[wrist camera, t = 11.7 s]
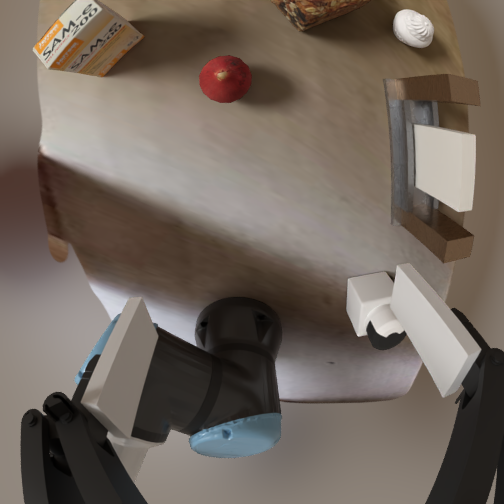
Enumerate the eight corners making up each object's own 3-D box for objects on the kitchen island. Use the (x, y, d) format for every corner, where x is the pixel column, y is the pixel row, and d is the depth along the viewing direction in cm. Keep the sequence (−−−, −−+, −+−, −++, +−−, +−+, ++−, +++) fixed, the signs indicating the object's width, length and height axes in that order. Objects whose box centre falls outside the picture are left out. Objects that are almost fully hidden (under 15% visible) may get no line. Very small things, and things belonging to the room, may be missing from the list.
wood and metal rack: (430, 218, 39) (477, 254, 27) (390, 224, 39) (434, 265, 28) (427, 83, 28) (485, 83, 17) (383, 79, 29) (437, 71, 18)
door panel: (421, 182, 35) (471, 210, 24) (409, 183, 35) (458, 212, 25) (420, 123, 31) (475, 134, 20) (407, 123, 31) (461, 133, 20)
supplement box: (103, 79, 28) (46, 72, 16) (87, 60, 26) (30, 50, 15) (147, 37, 26) (103, 9, 14) (128, 19, 24) (82, -10, 12)
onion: (227, 53, 28) (222, 37, 21) (260, 82, 30) (264, 72, 23) (195, 84, 30) (181, 76, 23) (227, 112, 32) (222, 111, 25)
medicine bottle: (381, 302, 46) (407, 348, 36) (345, 310, 47) (366, 360, 36) (385, 270, 43) (417, 314, 32) (347, 277, 43) (373, 326, 33)
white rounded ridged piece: (415, 58, 27) (443, 53, 21) (380, 39, 26) (405, 28, 20) (420, 28, 24) (447, 19, 18) (387, 8, 23) (410, -5, 17)
